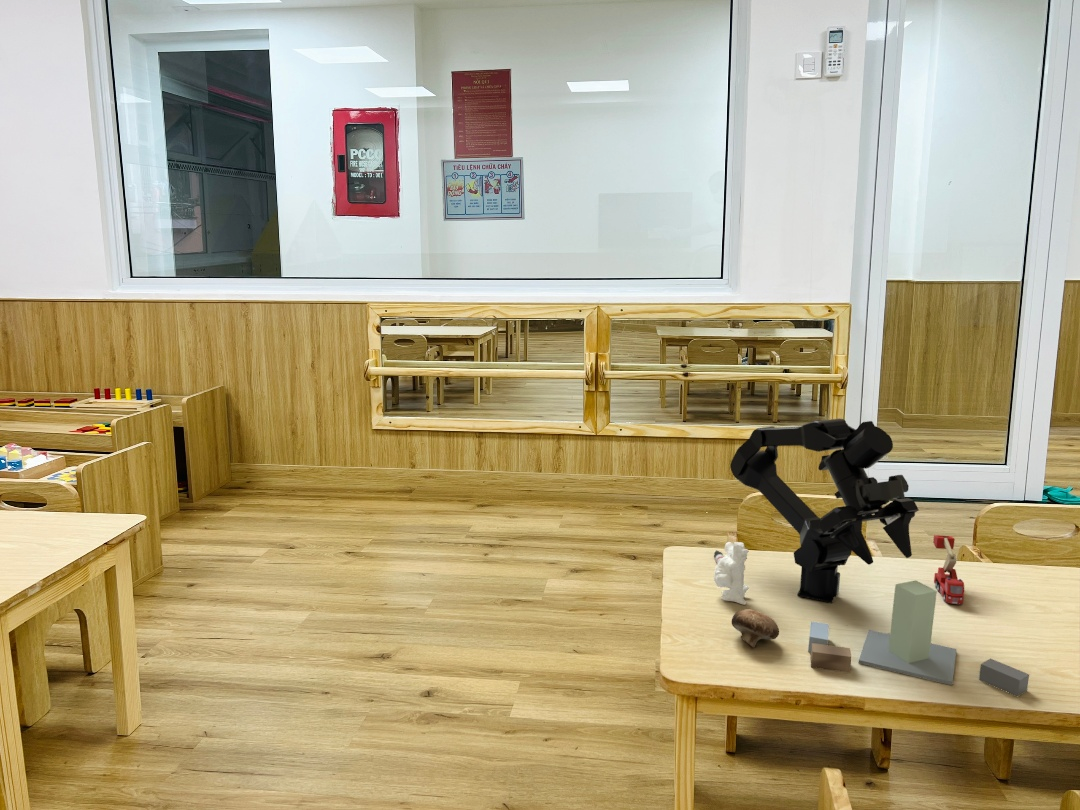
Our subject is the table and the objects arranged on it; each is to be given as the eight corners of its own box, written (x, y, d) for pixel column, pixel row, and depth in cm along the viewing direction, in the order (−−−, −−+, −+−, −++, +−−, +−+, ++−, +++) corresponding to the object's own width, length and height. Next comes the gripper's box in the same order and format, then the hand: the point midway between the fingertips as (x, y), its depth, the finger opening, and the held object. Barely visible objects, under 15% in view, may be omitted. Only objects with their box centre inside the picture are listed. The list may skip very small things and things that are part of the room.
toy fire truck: (945, 605, 162) (951, 557, 159) (928, 576, 175) (933, 532, 173) (964, 607, 161) (970, 559, 159) (946, 577, 174) (951, 533, 172)
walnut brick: (810, 668, 139) (812, 651, 138) (810, 659, 142) (811, 643, 141) (849, 673, 137) (851, 656, 137) (848, 664, 140) (850, 648, 139)
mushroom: (746, 641, 140) (755, 604, 143) (717, 638, 147) (725, 603, 150) (783, 657, 143) (791, 620, 145) (752, 654, 150) (760, 619, 152)
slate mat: (858, 663, 140) (858, 659, 140) (868, 632, 150) (868, 629, 150) (952, 685, 134) (952, 681, 134) (956, 652, 144) (956, 648, 144)
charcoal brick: (978, 681, 135) (980, 663, 135) (988, 675, 137) (990, 658, 137) (1017, 698, 131) (1019, 680, 130) (1026, 691, 132) (1029, 674, 132)
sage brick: (888, 650, 143) (895, 584, 140) (908, 646, 145) (915, 580, 142) (908, 663, 139) (916, 595, 136) (928, 658, 141) (936, 590, 138)
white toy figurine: (757, 607, 160) (761, 547, 157) (722, 608, 159) (726, 548, 157) (742, 588, 168) (745, 531, 166) (709, 589, 167) (712, 532, 165)
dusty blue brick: (826, 656, 143) (828, 639, 142) (808, 653, 144) (809, 636, 143) (827, 640, 148) (828, 624, 148) (809, 637, 149) (810, 621, 149)
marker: (735, 585, 170) (736, 576, 170) (726, 585, 170) (726, 576, 170) (720, 555, 185) (720, 547, 185) (711, 555, 185) (711, 547, 185)
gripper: (840, 463, 145) (881, 548, 137) (918, 455, 153) (961, 535, 146) (802, 492, 153) (839, 574, 146) (877, 484, 161) (916, 560, 154)
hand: (890, 560), depth 148 cm, fingers open, 9 cm apart
